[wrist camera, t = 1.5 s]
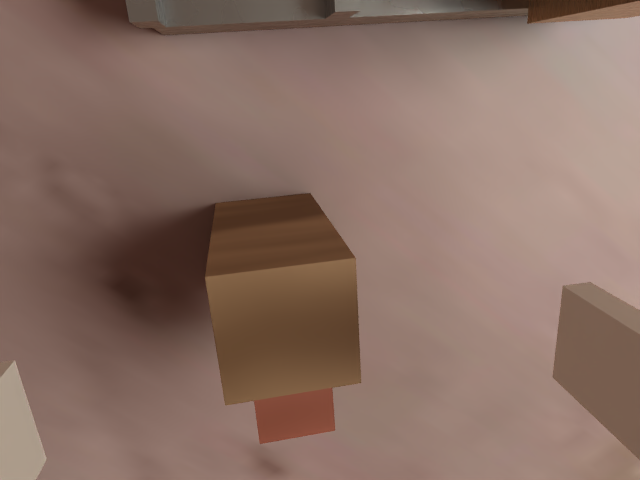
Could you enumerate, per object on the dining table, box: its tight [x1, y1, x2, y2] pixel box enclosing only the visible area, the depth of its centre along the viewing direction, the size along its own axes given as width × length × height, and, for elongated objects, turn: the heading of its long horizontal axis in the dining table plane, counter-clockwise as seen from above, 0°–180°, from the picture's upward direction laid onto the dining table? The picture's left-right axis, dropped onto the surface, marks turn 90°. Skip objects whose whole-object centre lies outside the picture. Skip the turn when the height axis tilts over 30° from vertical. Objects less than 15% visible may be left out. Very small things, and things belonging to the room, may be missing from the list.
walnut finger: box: [205, 193, 361, 444], centre depth 17 cm, size 6×4×8 cm, turn 4°
